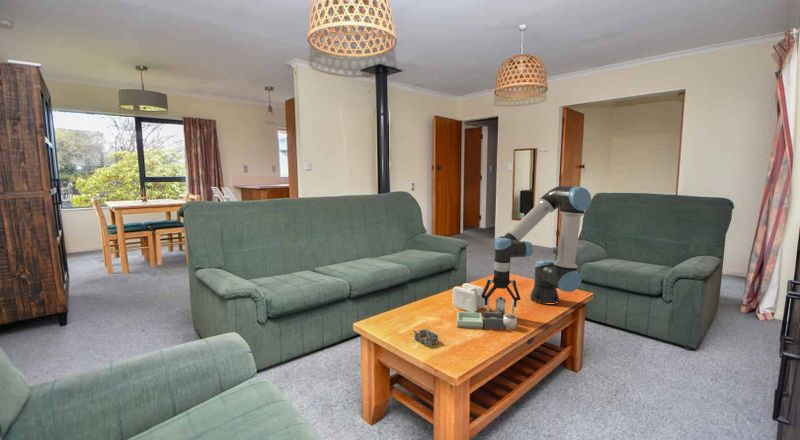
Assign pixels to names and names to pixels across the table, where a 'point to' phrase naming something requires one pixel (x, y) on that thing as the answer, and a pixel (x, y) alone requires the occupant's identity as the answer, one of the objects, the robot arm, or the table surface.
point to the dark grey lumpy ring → (428, 337)
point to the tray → (469, 320)
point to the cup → (509, 321)
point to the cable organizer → (468, 297)
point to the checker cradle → (493, 320)
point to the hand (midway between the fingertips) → (499, 312)
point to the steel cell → (500, 306)
